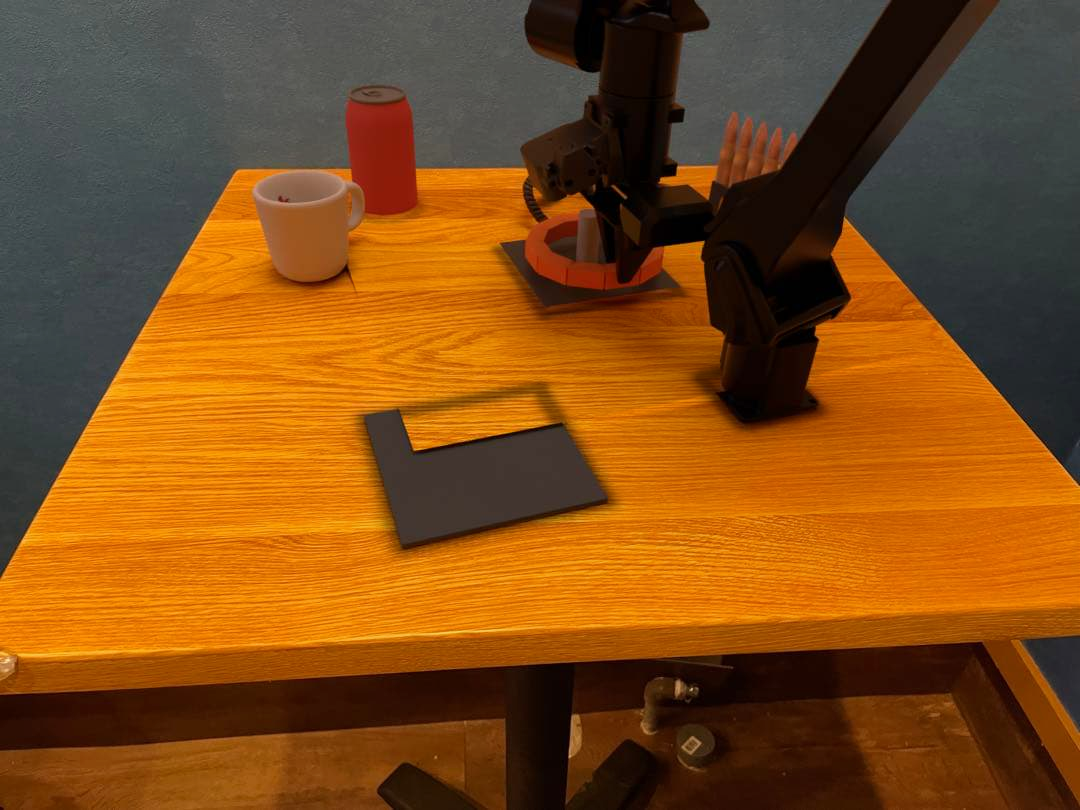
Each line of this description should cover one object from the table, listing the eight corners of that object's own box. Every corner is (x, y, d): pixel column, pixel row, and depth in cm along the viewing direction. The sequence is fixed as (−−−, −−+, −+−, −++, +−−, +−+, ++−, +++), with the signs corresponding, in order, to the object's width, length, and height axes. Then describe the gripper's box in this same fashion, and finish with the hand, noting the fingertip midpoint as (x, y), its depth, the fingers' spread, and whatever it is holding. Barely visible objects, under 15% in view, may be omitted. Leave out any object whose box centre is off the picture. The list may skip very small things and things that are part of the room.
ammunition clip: (796, 261, 79) (825, 138, 72) (783, 266, 79) (812, 142, 71) (714, 223, 86) (734, 107, 79) (702, 227, 85) (721, 110, 78)
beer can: (386, 192, 90) (377, 78, 83) (431, 207, 87) (425, 91, 80) (342, 210, 86) (327, 92, 79) (387, 227, 83) (377, 106, 76)
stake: (680, 294, 73) (689, 234, 70) (543, 314, 70) (546, 252, 66) (621, 234, 83) (626, 179, 80) (498, 249, 80) (498, 192, 76)
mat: (607, 502, 51) (608, 497, 51) (402, 549, 48) (402, 544, 47) (538, 387, 61) (538, 383, 61) (364, 419, 57) (363, 414, 57)
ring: (686, 278, 71) (688, 261, 70) (554, 297, 68) (555, 280, 67) (628, 222, 80) (629, 206, 79) (509, 236, 77) (509, 220, 76)
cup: (337, 233, 81) (327, 154, 77) (396, 256, 78) (389, 174, 73) (248, 273, 74) (231, 188, 69) (309, 299, 71) (295, 212, 66)
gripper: (495, 61, 65) (496, 242, 74) (583, 137, 51) (570, 349, 60) (623, 54, 68) (608, 228, 77) (739, 123, 54) (703, 326, 63)
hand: (618, 277), depth 70 cm, fingers closed on ring, 2 cm apart
